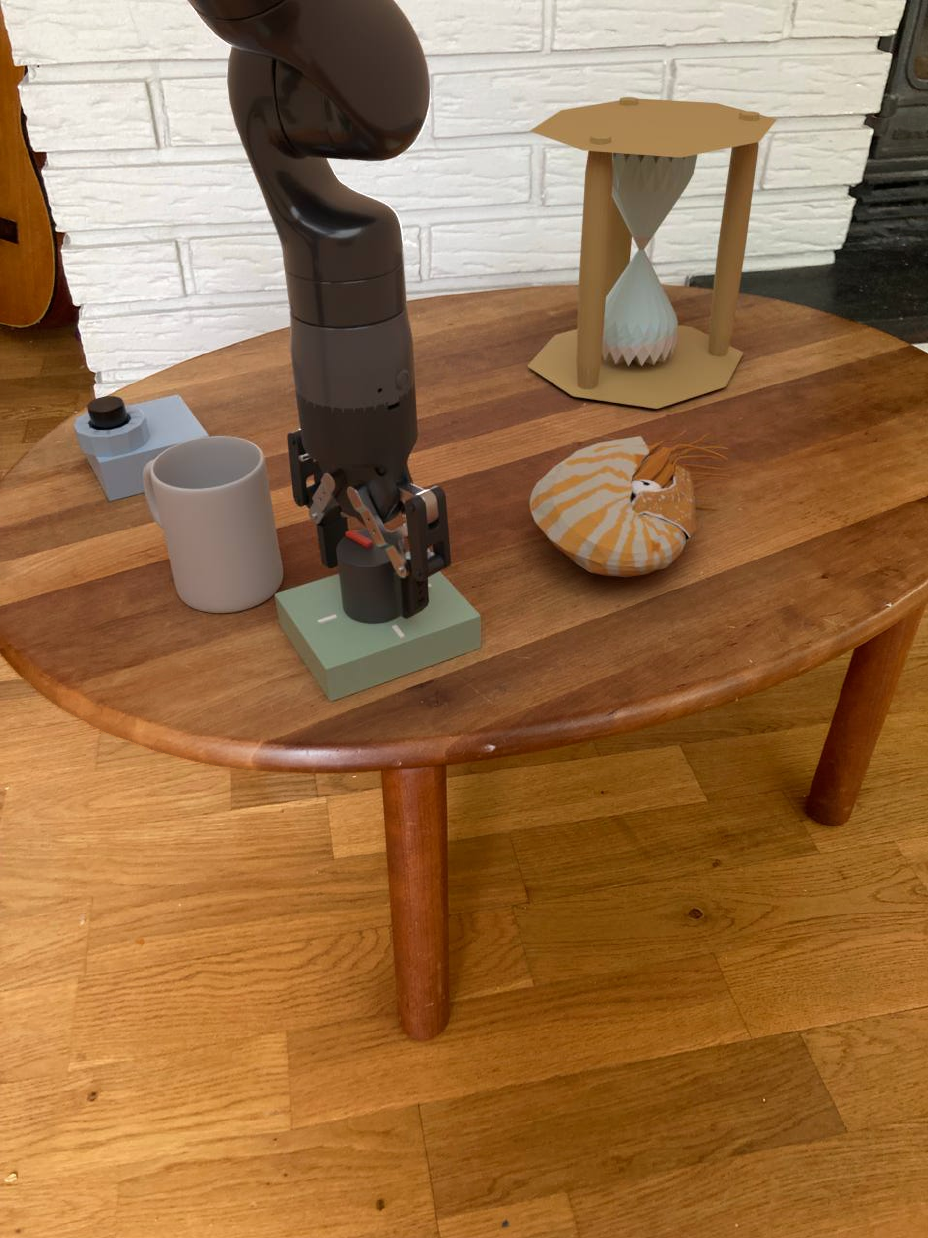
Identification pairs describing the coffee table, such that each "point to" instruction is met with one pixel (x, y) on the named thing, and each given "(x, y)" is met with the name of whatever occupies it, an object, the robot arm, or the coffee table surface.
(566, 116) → the hourglass
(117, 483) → the button box
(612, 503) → the nautilus
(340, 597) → the panel
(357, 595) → the dial
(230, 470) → the mug
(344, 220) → the robot arm
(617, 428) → the coffee table surface
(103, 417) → the button
